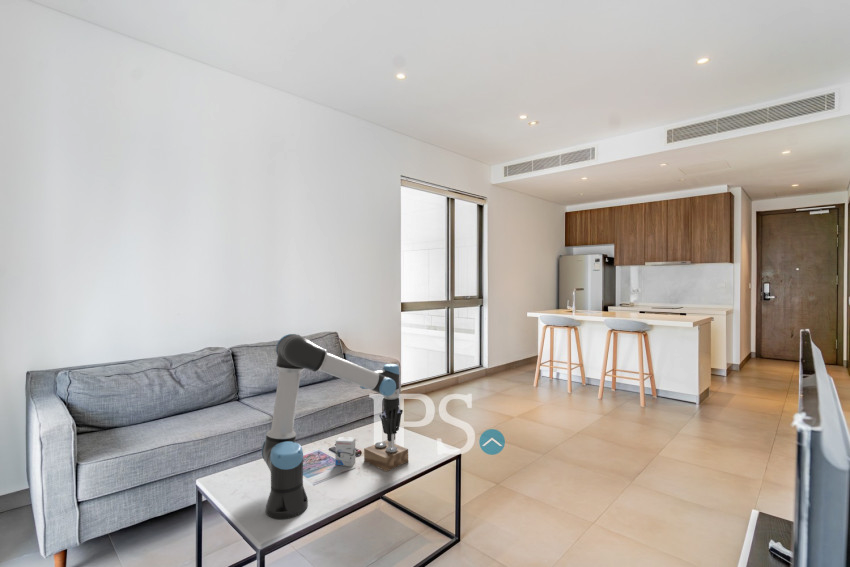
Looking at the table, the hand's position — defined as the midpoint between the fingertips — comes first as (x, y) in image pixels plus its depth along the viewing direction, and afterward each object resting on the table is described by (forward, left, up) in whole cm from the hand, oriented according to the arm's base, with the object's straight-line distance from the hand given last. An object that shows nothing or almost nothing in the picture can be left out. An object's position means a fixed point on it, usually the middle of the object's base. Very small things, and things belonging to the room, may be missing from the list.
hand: (391, 447), depth 197 cm
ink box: (-15, +16, -8) cm, 23 cm away
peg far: (0, +8, -8) cm, 11 cm away
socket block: (0, +4, -8) cm, 9 cm away
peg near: (0, 0, -8) cm, 8 cm away
